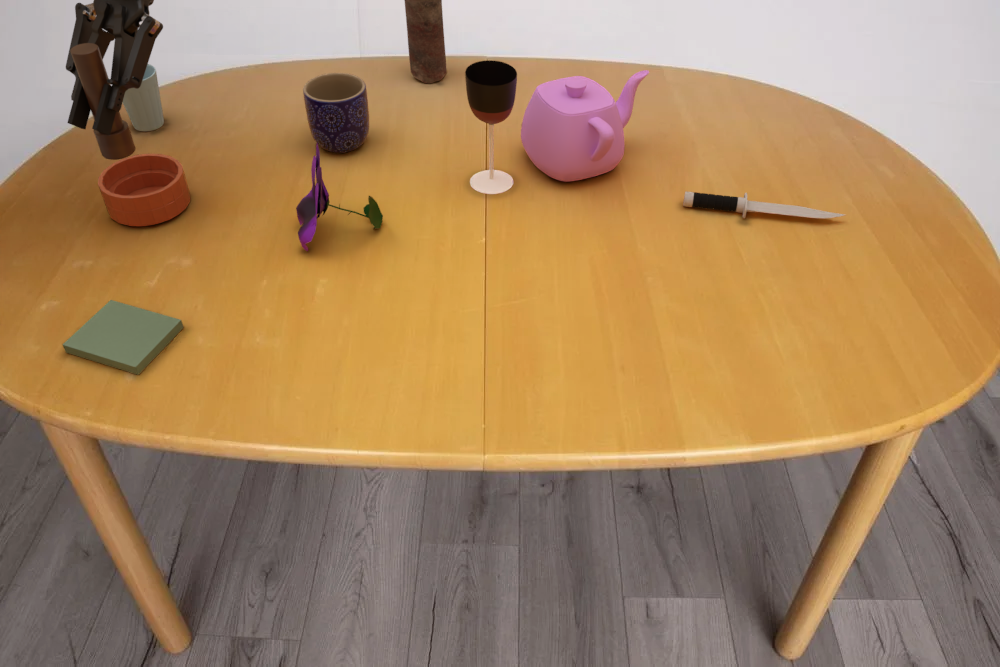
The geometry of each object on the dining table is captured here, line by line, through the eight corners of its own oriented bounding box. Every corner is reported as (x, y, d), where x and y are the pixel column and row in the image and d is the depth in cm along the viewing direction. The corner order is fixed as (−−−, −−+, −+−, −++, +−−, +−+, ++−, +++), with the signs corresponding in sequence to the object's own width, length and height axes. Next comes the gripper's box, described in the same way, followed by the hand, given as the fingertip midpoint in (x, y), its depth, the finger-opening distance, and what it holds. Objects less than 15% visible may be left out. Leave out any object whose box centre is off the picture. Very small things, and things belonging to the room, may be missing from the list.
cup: (165, 134, 161) (150, 81, 154) (123, 135, 161) (105, 83, 154) (174, 113, 167) (159, 62, 160) (133, 115, 166) (116, 63, 159)
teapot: (561, 208, 144) (567, 126, 134) (507, 147, 158) (508, 69, 148) (678, 176, 151) (691, 96, 141) (616, 120, 165) (624, 44, 155)
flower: (362, 228, 148) (284, 205, 142) (397, 156, 141) (316, 128, 134) (370, 282, 138) (287, 260, 132) (409, 207, 130) (322, 180, 124)
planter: (304, 157, 156) (294, 99, 148) (320, 126, 164) (312, 70, 156) (364, 161, 155) (357, 103, 147) (378, 129, 163) (372, 73, 155)
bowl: (92, 219, 142) (80, 187, 138) (143, 177, 151) (133, 147, 146) (159, 236, 138) (148, 204, 134) (207, 193, 147) (198, 162, 143)
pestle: (94, 156, 129) (57, 53, 118) (116, 140, 132) (82, 38, 121) (121, 162, 128) (86, 59, 117) (142, 146, 131) (110, 44, 120)
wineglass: (501, 163, 154) (502, 56, 140) (523, 189, 148) (526, 79, 135) (460, 174, 152) (456, 66, 138) (481, 200, 146) (479, 90, 132)
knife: (684, 200, 142) (685, 184, 145) (682, 213, 143) (683, 196, 147) (850, 219, 138) (847, 201, 142) (845, 232, 140) (843, 214, 143)
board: (65, 352, 119) (61, 344, 118) (113, 307, 126) (110, 299, 125) (138, 375, 116) (135, 367, 115) (184, 327, 123) (181, 319, 122)
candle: (402, 76, 178) (394, -23, 165) (427, 63, 182) (421, -34, 169) (429, 87, 175) (423, -13, 161) (454, 74, 179) (450, -24, 165)
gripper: (197, -11, 125) (154, 147, 125) (102, -28, 129) (61, 125, 129) (164, -36, 117) (119, 132, 117) (65, -53, 122) (21, 109, 122)
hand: (88, 128), depth 123 cm, fingers closed on pestle, 4 cm apart
